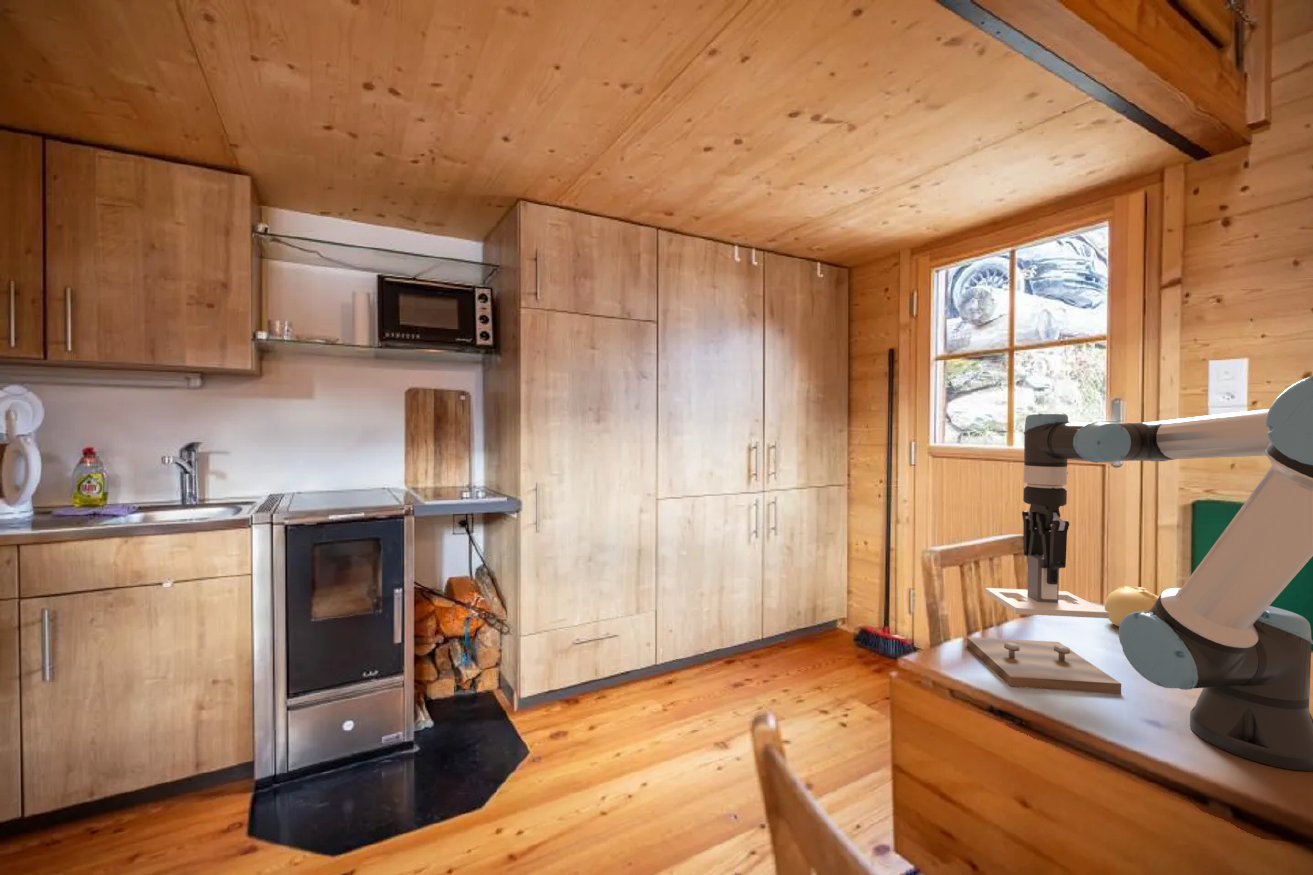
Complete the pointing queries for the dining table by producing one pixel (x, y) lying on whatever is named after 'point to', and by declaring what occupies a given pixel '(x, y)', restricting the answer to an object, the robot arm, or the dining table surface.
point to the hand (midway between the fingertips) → (1042, 594)
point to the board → (1041, 665)
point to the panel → (1045, 607)
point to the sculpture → (1128, 602)
